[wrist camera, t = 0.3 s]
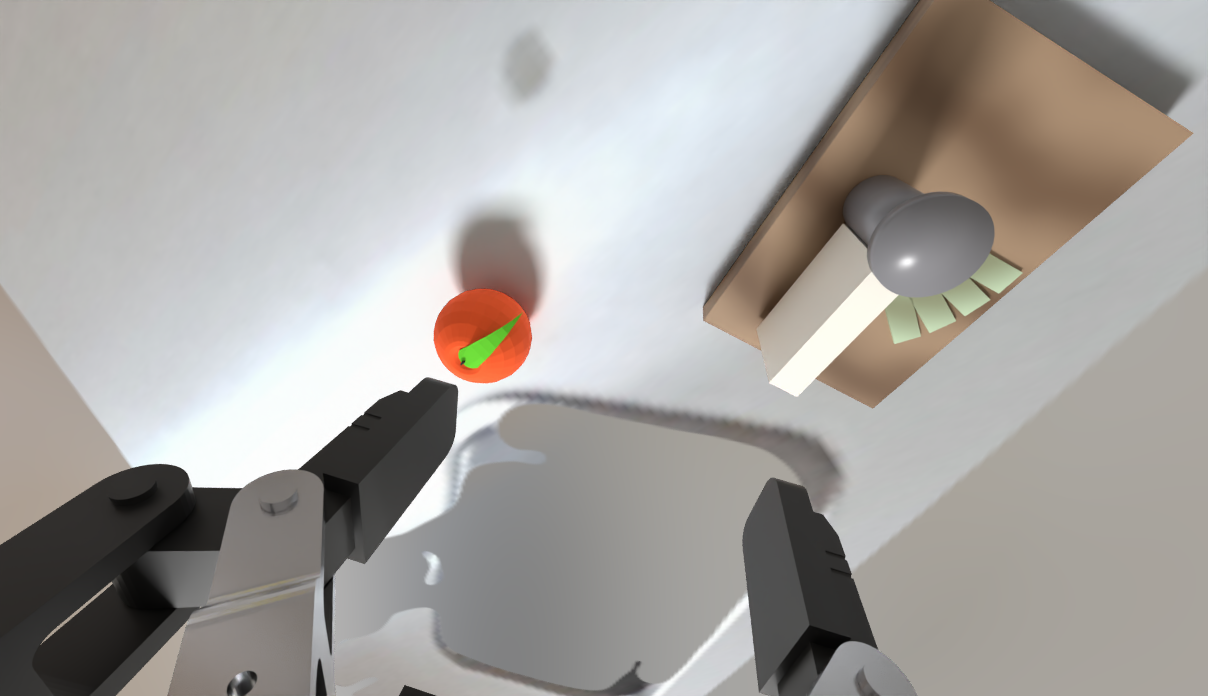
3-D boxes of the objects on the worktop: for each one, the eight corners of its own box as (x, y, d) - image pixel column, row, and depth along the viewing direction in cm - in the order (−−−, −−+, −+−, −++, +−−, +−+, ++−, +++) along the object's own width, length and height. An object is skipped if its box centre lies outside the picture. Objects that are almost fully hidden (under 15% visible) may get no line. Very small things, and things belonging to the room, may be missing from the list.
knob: (871, 147, 23) (931, 175, 17) (940, 188, 24) (1022, 229, 18) (739, 317, 30) (750, 381, 24) (795, 347, 30) (819, 416, 24)
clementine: (509, 248, 32) (468, 289, 26) (570, 318, 35) (545, 370, 29) (442, 303, 36) (393, 350, 30) (502, 363, 38) (466, 418, 32)
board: (931, -18, 21) (954, -25, 19) (1156, 128, 23) (1197, 133, 21) (703, 307, 32) (703, 322, 30) (864, 391, 34) (873, 410, 32)
